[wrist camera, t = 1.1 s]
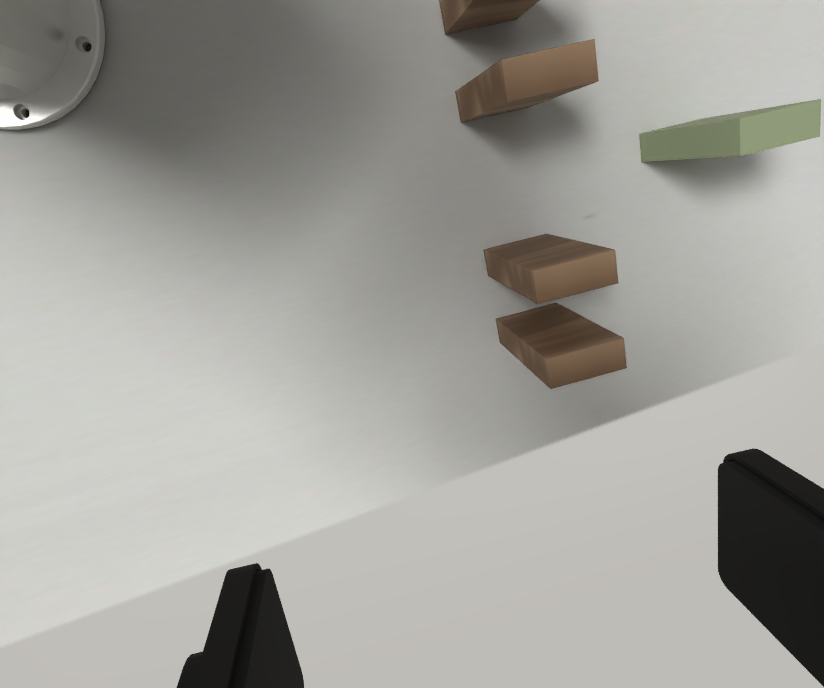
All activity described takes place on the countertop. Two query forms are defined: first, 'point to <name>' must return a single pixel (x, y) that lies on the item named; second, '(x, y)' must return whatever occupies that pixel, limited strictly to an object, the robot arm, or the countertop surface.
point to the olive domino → (733, 133)
